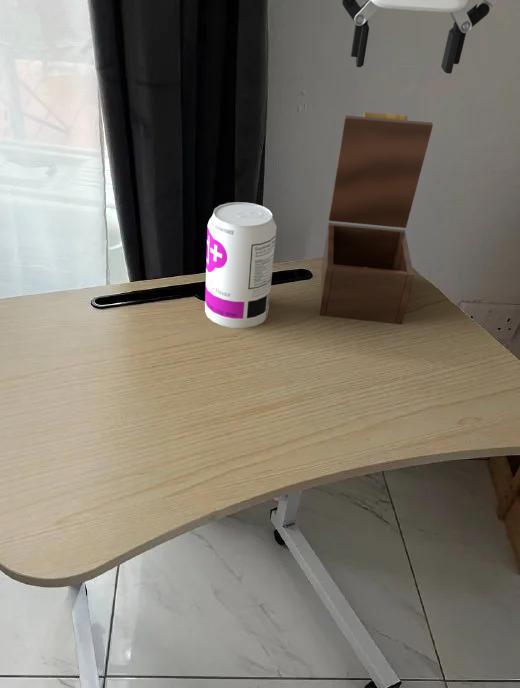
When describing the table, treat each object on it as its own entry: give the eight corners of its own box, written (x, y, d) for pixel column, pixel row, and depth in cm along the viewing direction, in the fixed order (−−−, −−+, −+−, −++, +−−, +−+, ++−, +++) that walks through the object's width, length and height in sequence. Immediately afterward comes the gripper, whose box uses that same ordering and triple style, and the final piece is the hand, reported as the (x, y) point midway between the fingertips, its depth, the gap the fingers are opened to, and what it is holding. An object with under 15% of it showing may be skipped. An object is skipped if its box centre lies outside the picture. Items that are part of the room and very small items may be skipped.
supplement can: (211, 342, 83) (216, 229, 74) (199, 309, 89) (202, 201, 80) (274, 337, 84) (286, 226, 75) (257, 304, 91) (267, 198, 81)
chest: (398, 335, 86) (414, 275, 80) (317, 327, 87) (326, 266, 81) (392, 286, 97) (405, 229, 91) (319, 279, 97) (328, 222, 92)
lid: (433, 125, 80) (430, 104, 84) (345, 118, 81) (346, 97, 84) (406, 228, 91) (404, 205, 94) (328, 221, 91) (330, 198, 95)
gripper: (350, -134, 61) (324, 69, 71) (542, -124, 60) (487, 81, 70) (348, -132, 67) (324, 55, 77) (523, -123, 66) (475, 66, 76)
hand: (402, 67), depth 74 cm, fingers open, 9 cm apart
